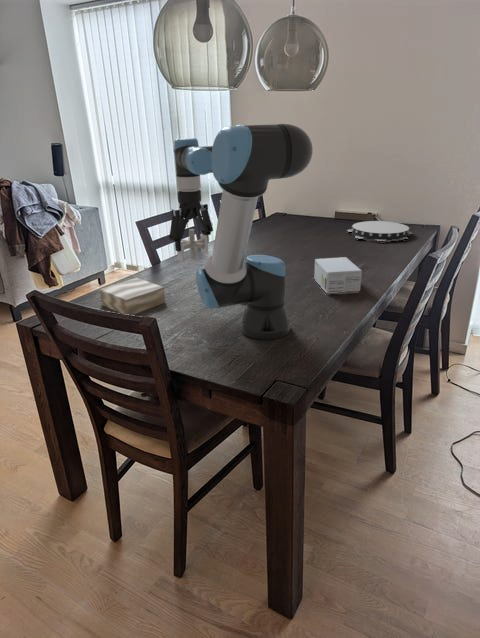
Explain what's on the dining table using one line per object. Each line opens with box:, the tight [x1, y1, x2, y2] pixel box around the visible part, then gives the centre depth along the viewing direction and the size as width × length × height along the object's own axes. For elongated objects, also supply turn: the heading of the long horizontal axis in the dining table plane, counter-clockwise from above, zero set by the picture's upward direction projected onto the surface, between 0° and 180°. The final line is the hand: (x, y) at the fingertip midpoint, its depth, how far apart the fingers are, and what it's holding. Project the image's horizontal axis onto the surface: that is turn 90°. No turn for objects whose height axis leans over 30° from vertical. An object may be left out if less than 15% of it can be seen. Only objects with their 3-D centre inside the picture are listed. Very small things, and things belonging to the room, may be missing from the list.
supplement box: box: [313, 256, 363, 293], centre depth 179 cm, size 17×13×9 cm
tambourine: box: [346, 220, 413, 241], centre depth 251 cm, size 34×33×5 cm
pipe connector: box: [181, 228, 205, 261], centre depth 158 cm, size 10×10×10 cm
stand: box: [99, 277, 166, 316], centre depth 168 cm, size 16×16×6 cm
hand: (193, 256), depth 160 cm, fingers closed on pipe connector, 10 cm apart
